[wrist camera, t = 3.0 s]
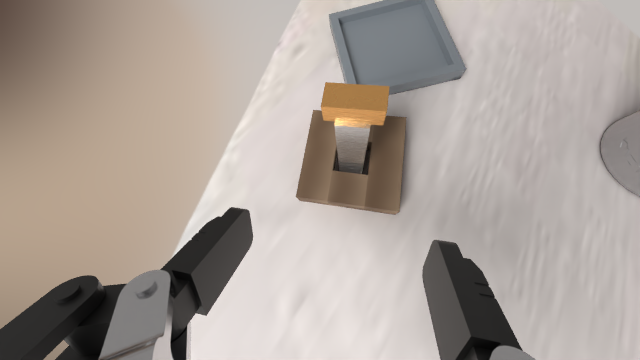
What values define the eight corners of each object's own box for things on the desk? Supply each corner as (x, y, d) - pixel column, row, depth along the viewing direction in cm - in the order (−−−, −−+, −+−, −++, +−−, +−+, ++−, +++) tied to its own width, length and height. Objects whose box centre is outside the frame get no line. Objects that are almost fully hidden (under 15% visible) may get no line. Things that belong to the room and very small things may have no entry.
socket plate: (401, 127, 25) (406, 117, 24) (394, 214, 23) (399, 211, 21) (315, 119, 27) (313, 110, 25) (299, 200, 24) (295, 196, 22)
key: (371, 155, 25) (389, 82, 14) (369, 175, 24) (386, 115, 13) (335, 151, 26) (326, 78, 15) (332, 171, 25) (320, 110, 14)
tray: (424, 1, 30) (428, -11, 29) (459, 78, 26) (466, 68, 25) (329, 25, 31) (329, 14, 30) (350, 103, 27) (350, 95, 26)
